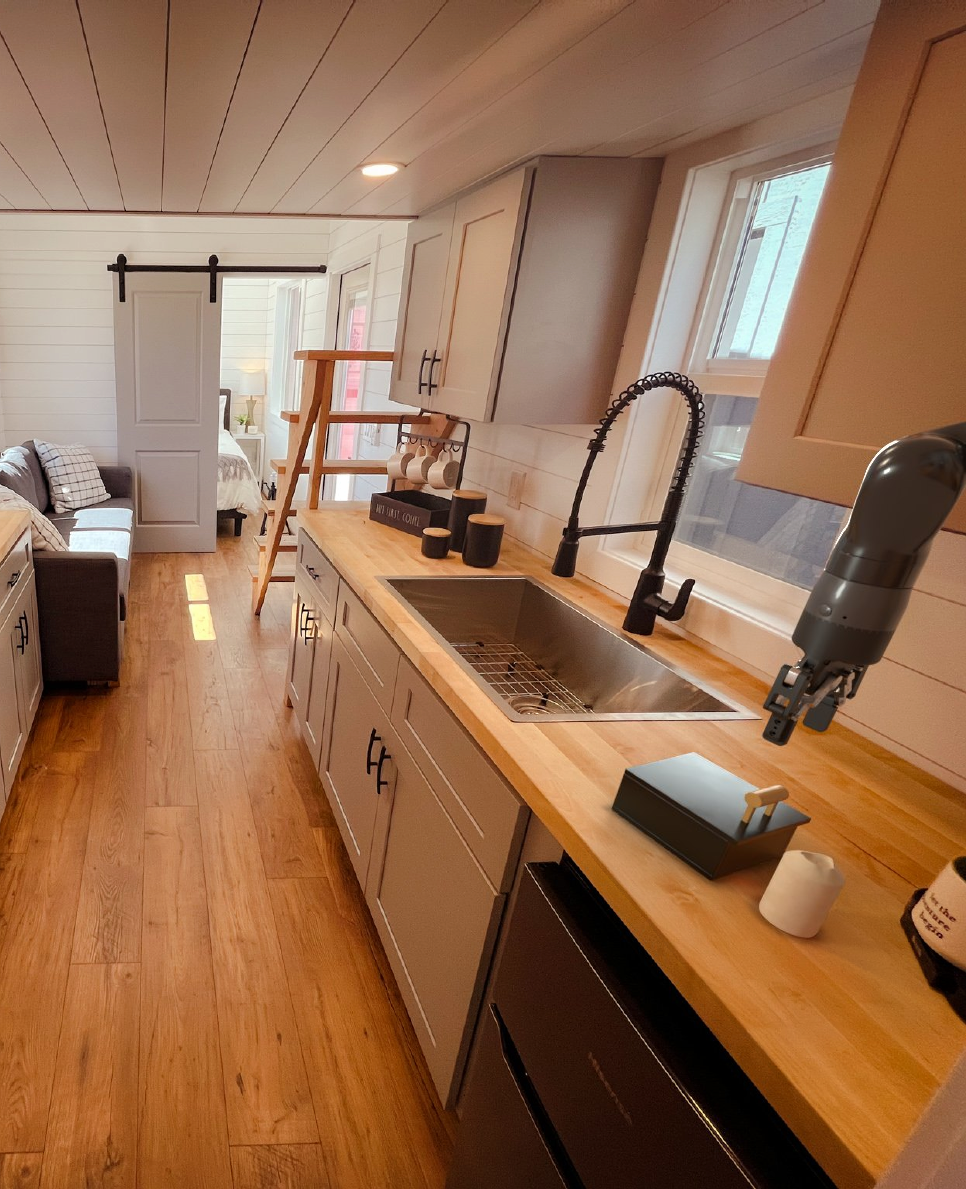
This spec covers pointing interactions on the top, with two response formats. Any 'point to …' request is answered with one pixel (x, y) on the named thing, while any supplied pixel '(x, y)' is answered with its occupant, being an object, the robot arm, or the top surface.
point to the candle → (801, 892)
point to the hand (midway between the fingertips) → (793, 735)
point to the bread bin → (693, 834)
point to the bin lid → (719, 797)
